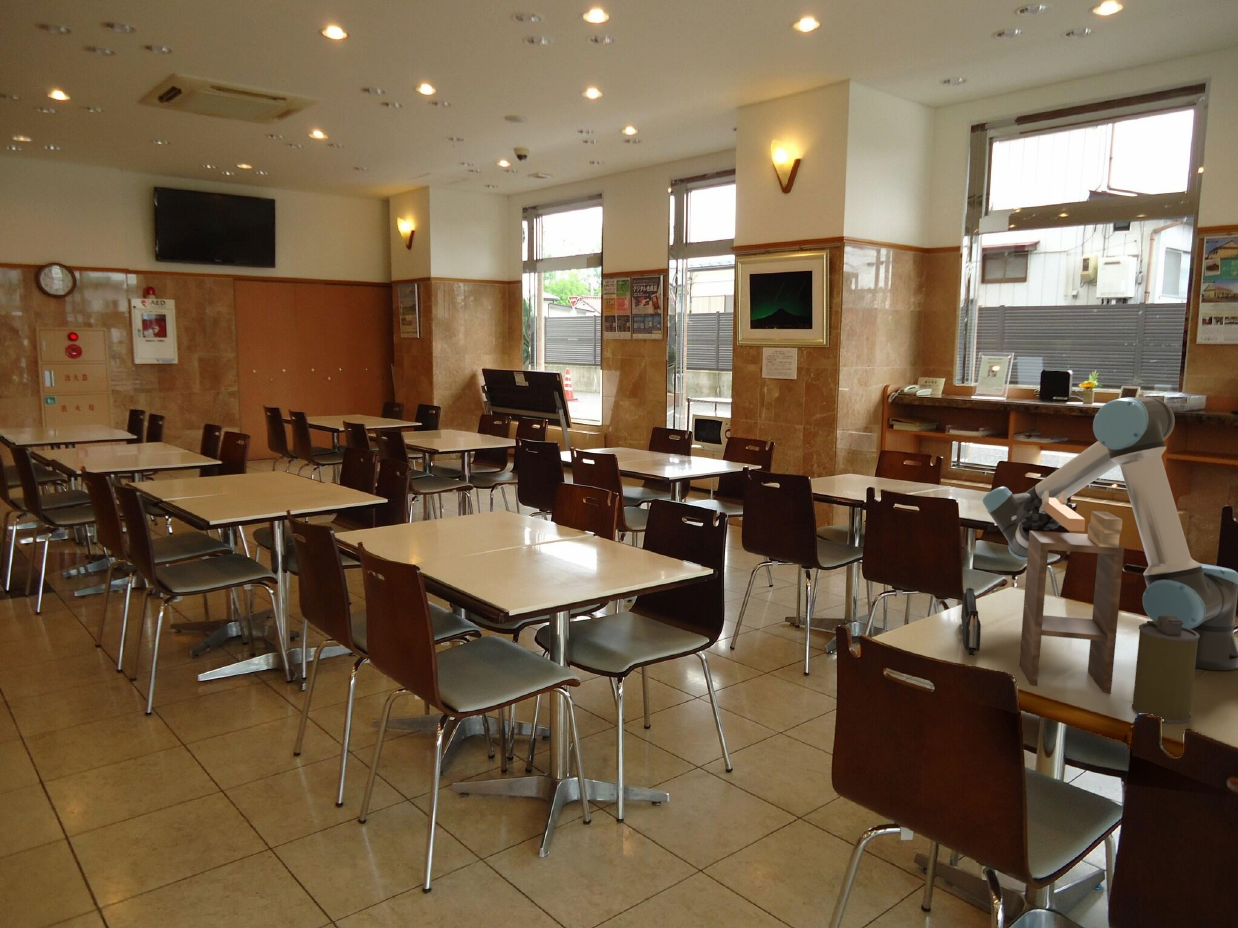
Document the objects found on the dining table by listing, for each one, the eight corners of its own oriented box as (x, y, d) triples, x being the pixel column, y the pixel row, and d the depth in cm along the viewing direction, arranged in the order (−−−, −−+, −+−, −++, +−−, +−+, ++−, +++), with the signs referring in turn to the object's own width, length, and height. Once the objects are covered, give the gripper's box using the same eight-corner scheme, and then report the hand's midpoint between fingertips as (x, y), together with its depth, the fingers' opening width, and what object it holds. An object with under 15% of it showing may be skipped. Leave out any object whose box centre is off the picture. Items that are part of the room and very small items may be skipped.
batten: (1040, 507, 210) (1041, 497, 209) (1054, 508, 209) (1055, 497, 209) (1068, 530, 183) (1069, 518, 182) (1084, 531, 182) (1085, 519, 182)
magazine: (962, 587, 239) (968, 582, 211) (975, 589, 238) (983, 583, 210) (959, 652, 236) (964, 655, 208) (972, 653, 235) (979, 656, 207)
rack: (1094, 672, 202) (1109, 508, 197) (1111, 694, 189) (1127, 520, 184) (1019, 665, 206) (1031, 504, 201) (1030, 686, 193) (1043, 515, 188)
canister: (1203, 723, 174) (1213, 626, 172) (1150, 723, 174) (1160, 625, 172) (1168, 702, 185) (1178, 609, 183) (1119, 701, 185) (1127, 608, 182)
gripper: (1070, 546, 219) (1095, 514, 198) (1000, 542, 223) (1018, 510, 202) (1068, 517, 222) (1093, 483, 201) (999, 514, 226) (1017, 479, 205)
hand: (1055, 496), depth 201 cm, fingers closed on batten, 3 cm apart
